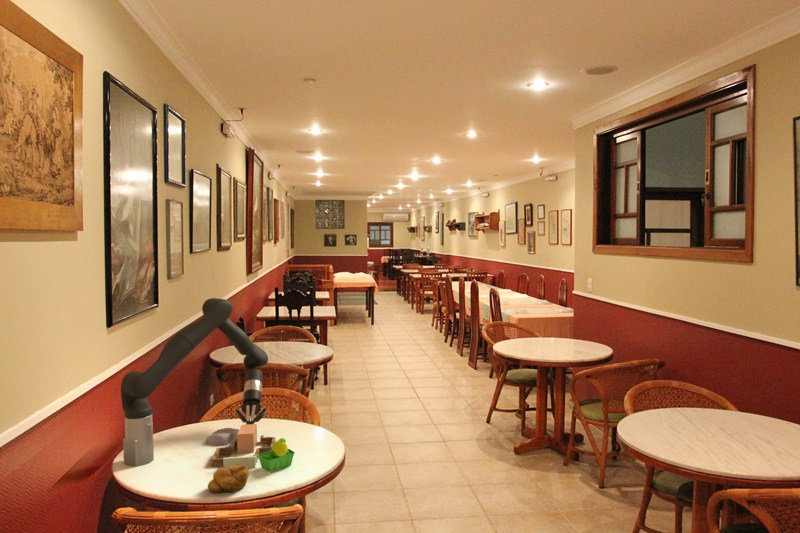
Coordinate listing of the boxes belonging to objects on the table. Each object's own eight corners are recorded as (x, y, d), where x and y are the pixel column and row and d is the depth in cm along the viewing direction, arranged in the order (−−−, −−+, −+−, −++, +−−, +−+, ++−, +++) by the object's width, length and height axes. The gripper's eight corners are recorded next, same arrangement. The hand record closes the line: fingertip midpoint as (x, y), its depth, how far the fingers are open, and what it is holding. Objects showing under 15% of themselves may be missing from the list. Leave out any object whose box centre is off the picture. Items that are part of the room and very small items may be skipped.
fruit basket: (284, 459, 211) (283, 429, 211) (298, 466, 205) (297, 435, 204) (256, 468, 203) (256, 437, 203) (270, 476, 197) (269, 444, 196)
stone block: (205, 449, 228) (227, 445, 226) (203, 437, 228) (225, 433, 226) (220, 439, 240) (241, 436, 238) (217, 428, 240) (239, 425, 238)
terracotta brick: (241, 443, 229) (241, 424, 229) (257, 442, 230) (256, 424, 230) (237, 453, 218) (237, 434, 218) (253, 452, 219) (253, 433, 219)
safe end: (223, 468, 204) (223, 457, 203) (255, 466, 205) (255, 456, 205) (223, 469, 203) (223, 458, 202) (255, 468, 204) (254, 457, 204)
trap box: (223, 443, 229) (222, 437, 229) (276, 440, 231) (276, 434, 231) (209, 469, 203) (209, 462, 203) (269, 466, 205) (269, 459, 205)
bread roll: (208, 498, 181) (207, 473, 181) (206, 485, 190) (206, 462, 190) (250, 490, 186) (249, 466, 185) (246, 479, 195) (246, 456, 194)
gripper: (235, 389, 238) (231, 427, 227) (268, 387, 240) (265, 426, 228) (237, 398, 244) (233, 436, 232) (269, 396, 245) (267, 434, 234)
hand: (249, 431), depth 230 cm, fingers closed
